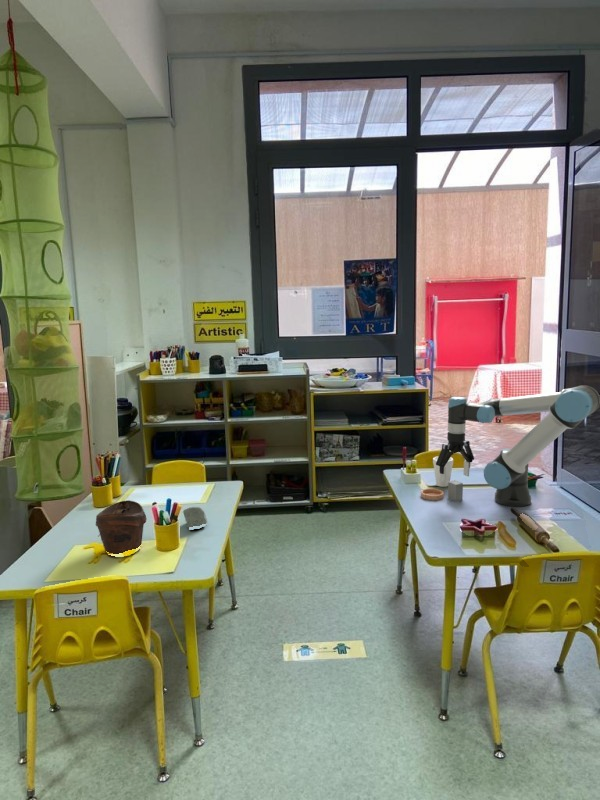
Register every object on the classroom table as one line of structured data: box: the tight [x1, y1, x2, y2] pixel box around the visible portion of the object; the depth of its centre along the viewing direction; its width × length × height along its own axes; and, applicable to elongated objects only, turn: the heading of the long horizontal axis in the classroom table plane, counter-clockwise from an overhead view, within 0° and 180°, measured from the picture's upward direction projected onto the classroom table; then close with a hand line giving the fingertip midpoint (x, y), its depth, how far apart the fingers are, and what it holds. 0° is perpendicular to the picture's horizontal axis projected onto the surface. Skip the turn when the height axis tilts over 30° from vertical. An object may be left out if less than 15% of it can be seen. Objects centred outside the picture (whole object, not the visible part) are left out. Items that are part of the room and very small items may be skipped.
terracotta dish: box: [420, 487, 445, 501], centre depth 255 cm, size 10×10×2 cm
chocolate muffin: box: [95, 499, 148, 559], centre depth 207 cm, size 18×20×18 cm
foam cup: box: [432, 455, 454, 488], centre depth 270 cm, size 10×9×13 cm
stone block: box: [447, 479, 464, 503], centre depth 250 cm, size 5×4×8 cm
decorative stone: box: [182, 506, 208, 528], centre depth 229 cm, size 13×11×10 cm
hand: (454, 478), depth 249 cm, fingers open, 13 cm apart
